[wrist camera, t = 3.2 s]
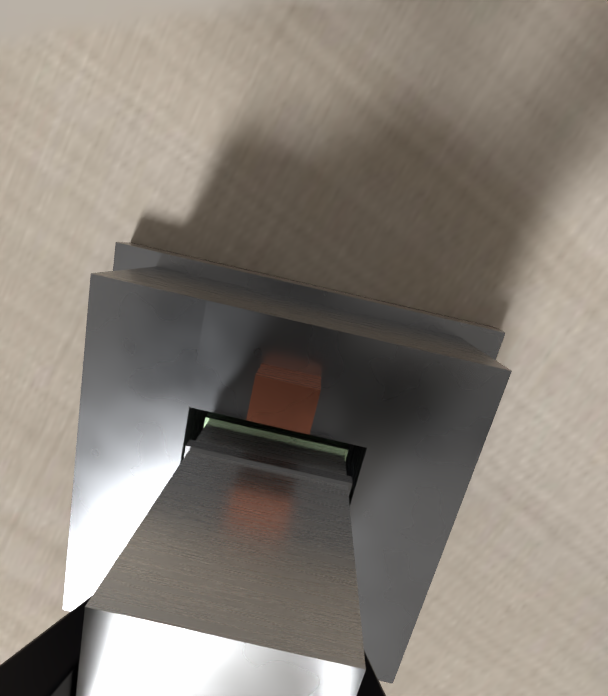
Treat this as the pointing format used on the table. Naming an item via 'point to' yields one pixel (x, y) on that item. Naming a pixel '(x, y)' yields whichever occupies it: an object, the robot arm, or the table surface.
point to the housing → (281, 412)
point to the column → (234, 576)
